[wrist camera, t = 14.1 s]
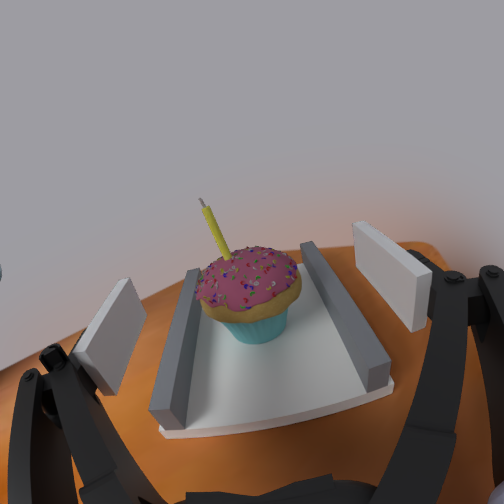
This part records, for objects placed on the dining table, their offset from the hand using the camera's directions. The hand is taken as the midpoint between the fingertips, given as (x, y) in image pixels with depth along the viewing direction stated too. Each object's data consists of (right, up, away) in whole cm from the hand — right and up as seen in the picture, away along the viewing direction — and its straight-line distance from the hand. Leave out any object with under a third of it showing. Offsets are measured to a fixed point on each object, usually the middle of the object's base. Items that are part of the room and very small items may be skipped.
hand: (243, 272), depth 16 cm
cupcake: (+1, -6, +9) cm, 11 cm away
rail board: (+2, -6, +10) cm, 12 cm away
